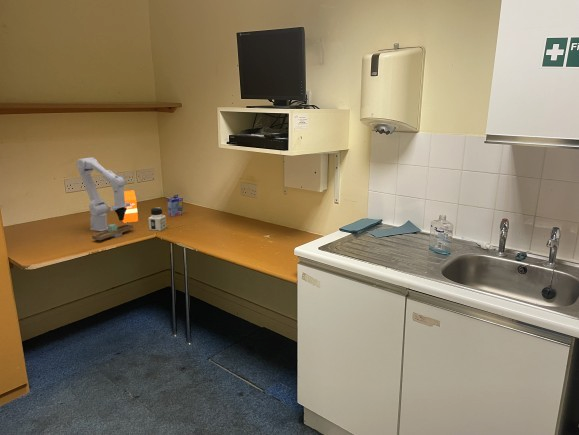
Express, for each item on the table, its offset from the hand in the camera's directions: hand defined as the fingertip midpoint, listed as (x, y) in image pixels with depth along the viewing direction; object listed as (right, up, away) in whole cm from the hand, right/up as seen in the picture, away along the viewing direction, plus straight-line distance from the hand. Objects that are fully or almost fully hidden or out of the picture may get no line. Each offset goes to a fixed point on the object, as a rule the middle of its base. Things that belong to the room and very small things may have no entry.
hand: (121, 220), depth 266 cm
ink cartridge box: (+21, +3, +44) cm, 49 cm away
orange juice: (-5, -1, +29) cm, 29 cm away
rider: (-3, -7, -5) cm, 9 cm away
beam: (-3, -9, -4) cm, 10 cm away
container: (+18, -6, +11) cm, 22 cm away
